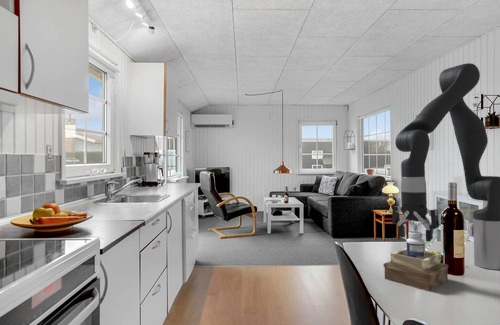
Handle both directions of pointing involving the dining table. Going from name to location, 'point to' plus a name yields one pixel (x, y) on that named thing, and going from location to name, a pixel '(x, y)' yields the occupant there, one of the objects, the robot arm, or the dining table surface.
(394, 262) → the top crate
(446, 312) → the dining table surface
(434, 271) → the box
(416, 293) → the dining table surface
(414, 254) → the pill bottle
